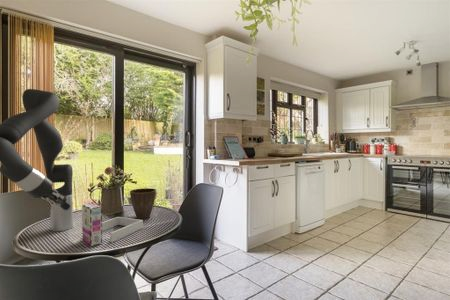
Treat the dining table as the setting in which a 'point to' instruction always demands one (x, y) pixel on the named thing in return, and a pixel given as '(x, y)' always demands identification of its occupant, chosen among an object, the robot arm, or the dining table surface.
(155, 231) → the dining table surface
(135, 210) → the plant pot
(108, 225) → the grey bracket
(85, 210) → the candy bar box
